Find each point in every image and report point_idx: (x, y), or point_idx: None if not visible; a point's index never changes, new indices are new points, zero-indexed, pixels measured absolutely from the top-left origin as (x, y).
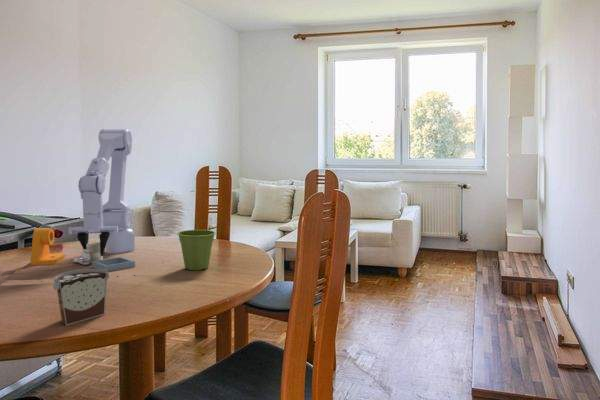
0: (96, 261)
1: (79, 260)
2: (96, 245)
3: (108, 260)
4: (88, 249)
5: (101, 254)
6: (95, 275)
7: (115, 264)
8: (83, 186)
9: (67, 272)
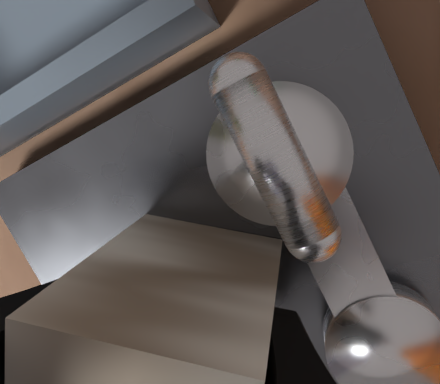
0: (141, 4)
1: (369, 249)
2: (74, 317)
3: (21, 87)
4: (238, 317)
5: None
6: None
7: None
8: None
9: None
